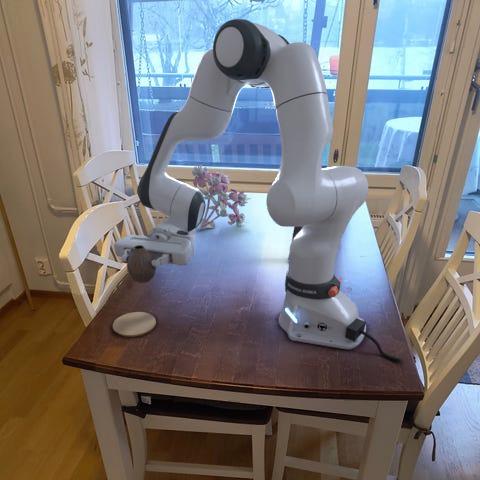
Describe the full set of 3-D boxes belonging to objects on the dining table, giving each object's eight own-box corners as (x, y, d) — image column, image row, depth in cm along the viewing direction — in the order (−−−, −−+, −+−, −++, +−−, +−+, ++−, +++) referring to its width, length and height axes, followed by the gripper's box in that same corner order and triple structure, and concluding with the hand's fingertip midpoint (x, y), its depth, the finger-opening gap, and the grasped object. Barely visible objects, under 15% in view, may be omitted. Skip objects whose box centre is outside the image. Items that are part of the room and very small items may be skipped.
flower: (228, 240, 154) (247, 171, 149) (175, 224, 161) (191, 158, 156) (246, 244, 173) (263, 183, 168) (198, 230, 179) (214, 170, 175)
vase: (151, 287, 103) (146, 254, 98) (124, 284, 104) (119, 251, 99) (161, 274, 109) (157, 242, 104) (136, 271, 110) (131, 240, 105)
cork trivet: (164, 319, 113) (164, 318, 112) (138, 341, 104) (137, 339, 104) (131, 309, 117) (131, 308, 117) (103, 329, 109) (103, 328, 108)
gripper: (128, 225, 115) (99, 245, 104) (198, 234, 110) (176, 256, 99) (131, 247, 118) (104, 268, 107) (199, 256, 113) (178, 280, 102)
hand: (139, 262), depth 103 cm, fingers closed on vase, 7 cm apart
